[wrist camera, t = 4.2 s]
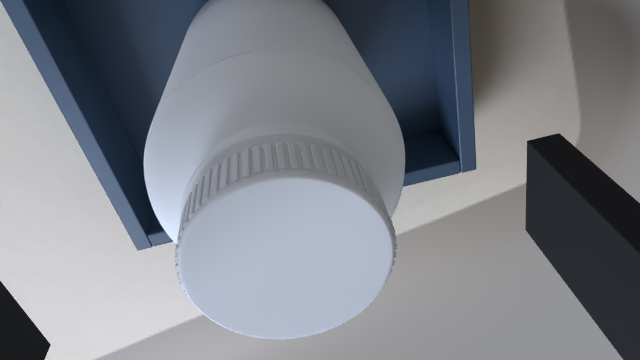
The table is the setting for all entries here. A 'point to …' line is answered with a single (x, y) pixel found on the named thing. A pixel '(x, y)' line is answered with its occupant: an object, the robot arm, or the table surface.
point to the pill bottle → (275, 169)
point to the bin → (161, 53)
